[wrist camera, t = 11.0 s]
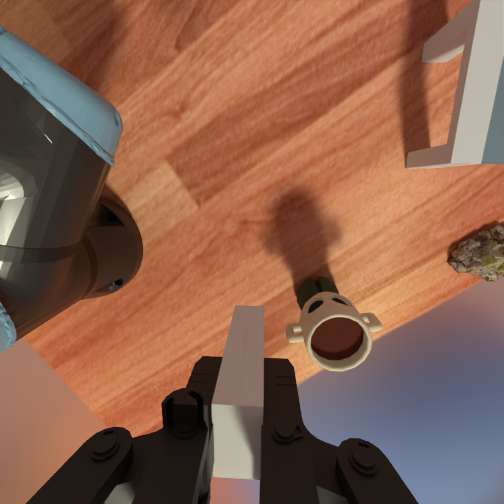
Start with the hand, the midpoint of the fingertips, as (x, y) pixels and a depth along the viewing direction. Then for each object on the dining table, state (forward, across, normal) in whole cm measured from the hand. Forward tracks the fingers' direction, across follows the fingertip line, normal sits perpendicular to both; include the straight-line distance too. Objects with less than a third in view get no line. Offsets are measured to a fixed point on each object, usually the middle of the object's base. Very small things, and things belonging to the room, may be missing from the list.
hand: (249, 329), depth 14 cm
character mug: (+27, +9, -9) cm, 29 cm away
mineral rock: (+27, +32, -2) cm, 42 cm away
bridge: (+26, +21, +17) cm, 38 cm away
